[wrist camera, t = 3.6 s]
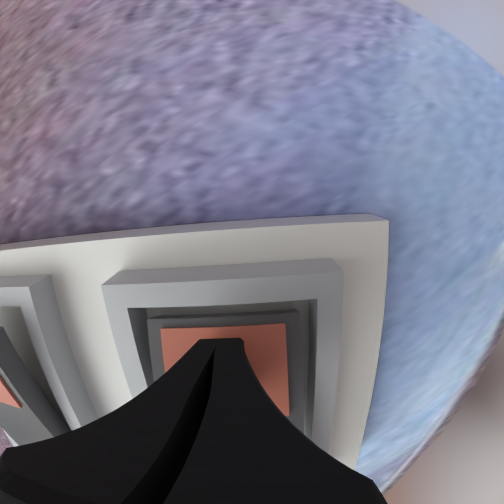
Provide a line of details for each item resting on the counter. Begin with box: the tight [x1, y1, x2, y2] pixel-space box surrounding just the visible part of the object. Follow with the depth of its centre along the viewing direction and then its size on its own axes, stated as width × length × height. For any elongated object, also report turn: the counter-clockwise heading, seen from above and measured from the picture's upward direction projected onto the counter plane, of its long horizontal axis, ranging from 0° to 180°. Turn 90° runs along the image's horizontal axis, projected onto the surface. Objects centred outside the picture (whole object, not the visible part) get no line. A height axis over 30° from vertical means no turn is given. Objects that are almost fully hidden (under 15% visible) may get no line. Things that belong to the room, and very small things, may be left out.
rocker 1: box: [0, 326, 72, 446], centre depth 10 cm, size 9×5×1 cm, turn 4°
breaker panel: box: [0, 214, 389, 470], centre depth 12 cm, size 14×23×4 cm, turn 94°
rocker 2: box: [147, 309, 304, 434], centre depth 10 cm, size 9×5×1 cm, turn 4°
